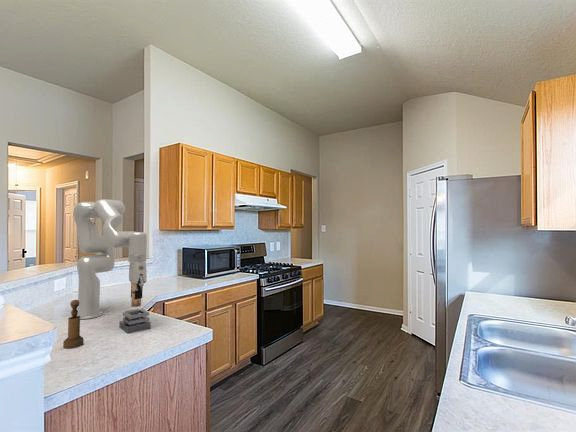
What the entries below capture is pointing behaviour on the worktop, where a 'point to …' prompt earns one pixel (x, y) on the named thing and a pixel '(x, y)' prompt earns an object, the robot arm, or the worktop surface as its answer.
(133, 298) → the copper tube
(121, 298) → the worktop surface
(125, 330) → the bracket
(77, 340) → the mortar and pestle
